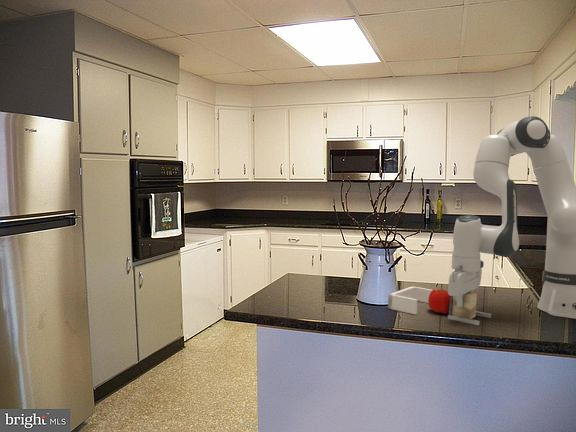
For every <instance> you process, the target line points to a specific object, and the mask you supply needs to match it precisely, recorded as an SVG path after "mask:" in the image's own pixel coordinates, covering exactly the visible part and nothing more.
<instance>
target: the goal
mask: <svg viewBox="0 0 576 432" xmlns="http://www.w3.org/2000/svg"><path fill="white" fill-rule="evenodd" d="M432 290H433V289H431V288H424V287H419V286H409V287H406V288H403V289H400V290H398V291H394V292H392V293H390V294H388V296H387V297H388V299H387V300H388V301H387V309H389V310H393V311H398V312H403V313H408V314H411V315H417V314H418V302H421V303H426V304H428V299H429V295H430V293H431V291H432Z"/></svg>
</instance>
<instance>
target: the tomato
mask: <svg viewBox="0 0 576 432" xmlns="http://www.w3.org/2000/svg"><path fill="white" fill-rule="evenodd" d="M431 290H432V291H431V293H430V295H429V299H428V303H427V304H428V307H429V309H430V310H431V311H434V312H435V313H441V314H443V315H445V314H449V301H450V298H452V297H453V296H450V295H449V294H448V290H445V289H441V288H438V289H437V288H436V289H431Z"/></svg>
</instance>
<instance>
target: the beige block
mask: <svg viewBox="0 0 576 432" xmlns="http://www.w3.org/2000/svg"><path fill="white" fill-rule="evenodd" d="M477 296H478V292H468V293H466V294H464V295H463V297H462V298H463V302H464V304H463V307H457V301H456V298H455V296H453V297H452V298H450V301H449V313H448V315H453V316H458V317H463V318H467V319H472V320H473V319H474V318H475V317H476V316H477V315H476V311H477V300H478V299H477V298H478V297H477Z"/></svg>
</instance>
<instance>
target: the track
mask: <svg viewBox="0 0 576 432" xmlns="http://www.w3.org/2000/svg"><path fill="white" fill-rule="evenodd" d="M476 316H478V317H482V318H487V319H491V318H492V313H487V312H483V311H477V310H476ZM447 319H448V320H452V321H456V322H460V323H464V324H465V323H466V324H471V325H474V326H480V323H481V322H480V320H478V319H477V320H476V319H473V318H472V319H467V318H463V317H458V316H453V315H449V314H447Z"/></svg>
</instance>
